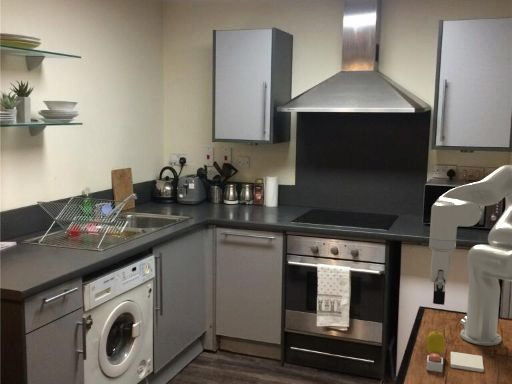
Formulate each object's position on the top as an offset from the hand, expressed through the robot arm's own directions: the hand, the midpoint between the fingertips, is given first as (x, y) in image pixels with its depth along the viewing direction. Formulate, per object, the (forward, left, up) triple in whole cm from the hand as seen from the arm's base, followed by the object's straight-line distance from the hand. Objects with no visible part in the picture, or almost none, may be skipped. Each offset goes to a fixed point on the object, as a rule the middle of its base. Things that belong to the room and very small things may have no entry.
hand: (438, 298), depth 170 cm
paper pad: (+7, +6, -18) cm, 21 cm away
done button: (+7, -5, -16) cm, 18 cm away
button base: (+7, -5, -18) cm, 20 cm away
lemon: (0, 0, -18) cm, 19 cm away
